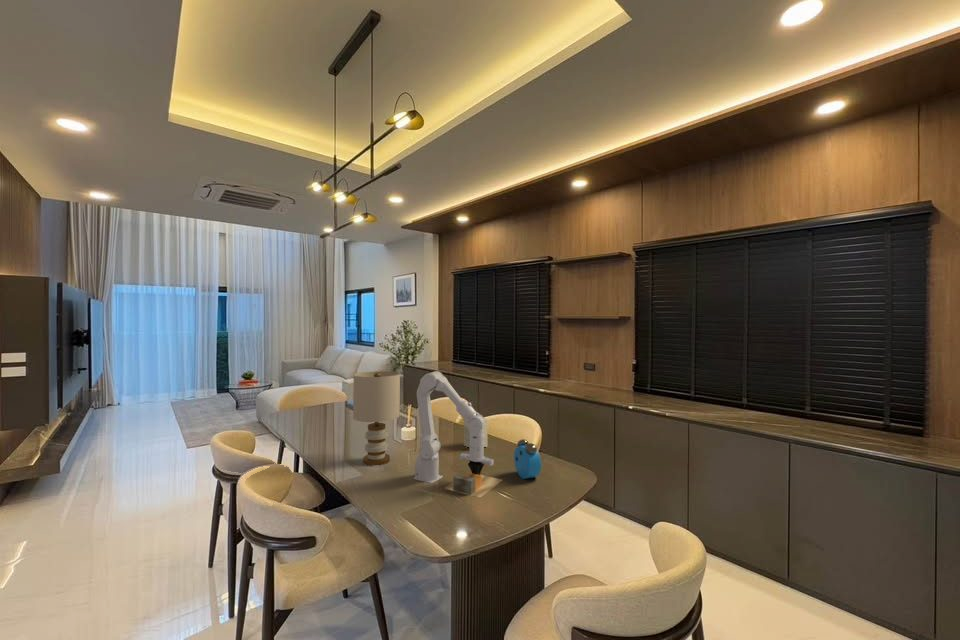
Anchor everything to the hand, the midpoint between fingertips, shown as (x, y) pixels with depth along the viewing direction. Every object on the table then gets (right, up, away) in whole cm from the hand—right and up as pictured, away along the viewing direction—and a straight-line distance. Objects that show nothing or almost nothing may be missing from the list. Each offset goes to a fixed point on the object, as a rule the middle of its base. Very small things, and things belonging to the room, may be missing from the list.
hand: (476, 480), depth 157 cm
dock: (-1, -1, -1) cm, 2 cm away
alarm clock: (+21, -2, +7) cm, 22 cm away
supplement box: (-1, -2, +47) cm, 47 cm away
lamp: (-47, -2, +25) cm, 53 cm away
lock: (-2, -1, -4) cm, 5 cm away
